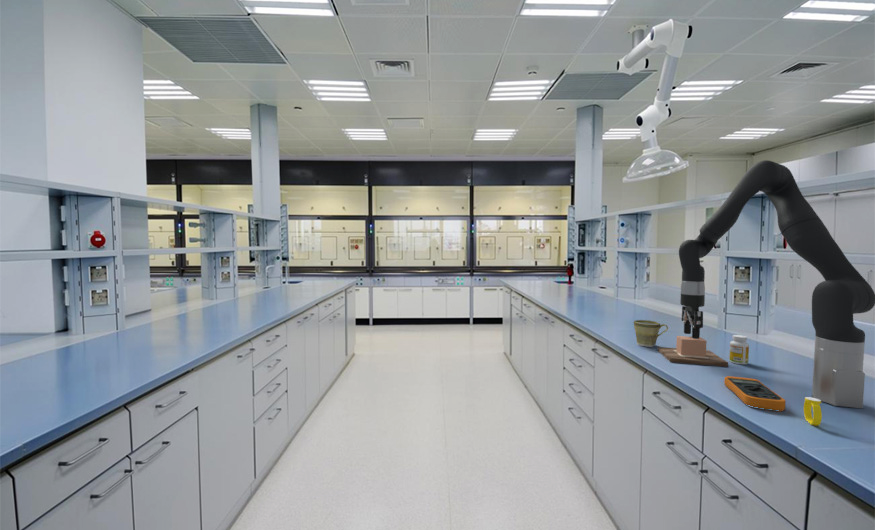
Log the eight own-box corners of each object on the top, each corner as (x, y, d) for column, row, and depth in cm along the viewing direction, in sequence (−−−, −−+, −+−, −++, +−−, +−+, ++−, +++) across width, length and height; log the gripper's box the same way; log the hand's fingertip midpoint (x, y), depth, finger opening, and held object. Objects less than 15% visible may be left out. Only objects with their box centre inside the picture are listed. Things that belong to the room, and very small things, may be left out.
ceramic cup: (635, 347, 158) (636, 323, 158) (630, 341, 168) (631, 319, 167) (670, 349, 154) (671, 325, 154) (663, 343, 164) (664, 320, 163)
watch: (799, 418, 94) (799, 394, 94) (814, 420, 92) (815, 396, 93) (809, 426, 88) (810, 401, 88) (825, 429, 87) (826, 403, 87)
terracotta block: (705, 356, 139) (706, 340, 139) (681, 355, 141) (681, 339, 141) (700, 352, 144) (700, 337, 144) (676, 351, 147) (676, 335, 146)
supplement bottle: (741, 360, 140) (742, 334, 140) (751, 365, 135) (753, 338, 134) (725, 360, 141) (726, 334, 140) (735, 364, 135) (736, 337, 135)
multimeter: (747, 409, 99) (748, 396, 98) (722, 385, 116) (723, 374, 115) (789, 414, 96) (789, 401, 96) (757, 389, 113) (757, 378, 112)
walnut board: (728, 366, 133) (728, 362, 133) (670, 362, 138) (670, 357, 138) (709, 354, 148) (709, 350, 148) (657, 350, 153) (657, 346, 153)
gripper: (712, 295, 134) (710, 341, 134) (696, 291, 147) (695, 332, 148) (687, 294, 136) (686, 339, 136) (674, 290, 150) (673, 331, 150)
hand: (691, 336), depth 142 cm, fingers open, 8 cm apart
